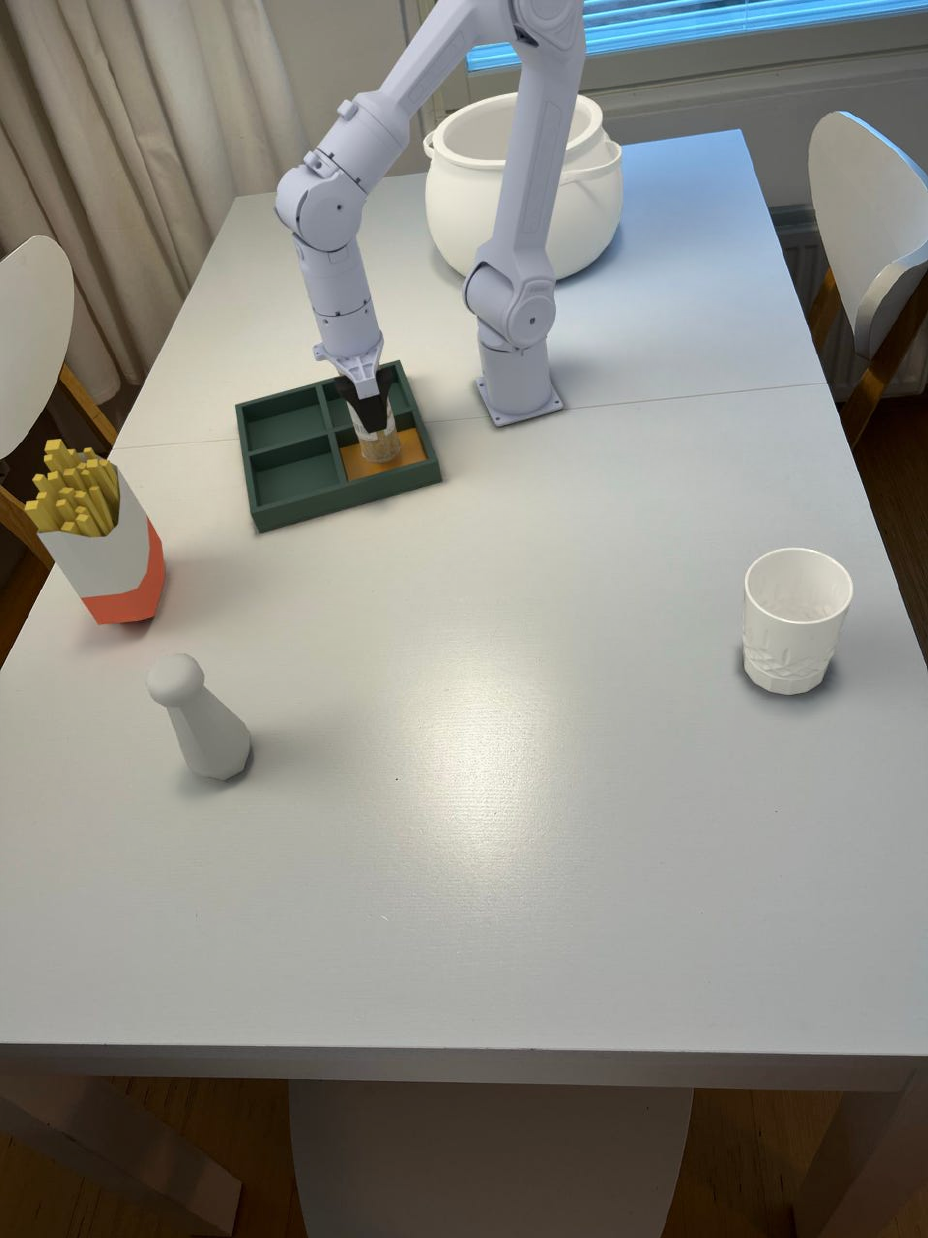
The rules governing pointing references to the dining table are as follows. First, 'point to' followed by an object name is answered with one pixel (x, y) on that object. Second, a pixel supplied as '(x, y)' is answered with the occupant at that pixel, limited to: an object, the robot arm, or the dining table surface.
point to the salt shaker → (199, 718)
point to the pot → (474, 177)
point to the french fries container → (98, 535)
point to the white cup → (793, 618)
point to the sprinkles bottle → (377, 437)
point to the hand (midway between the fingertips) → (372, 415)
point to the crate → (325, 453)
